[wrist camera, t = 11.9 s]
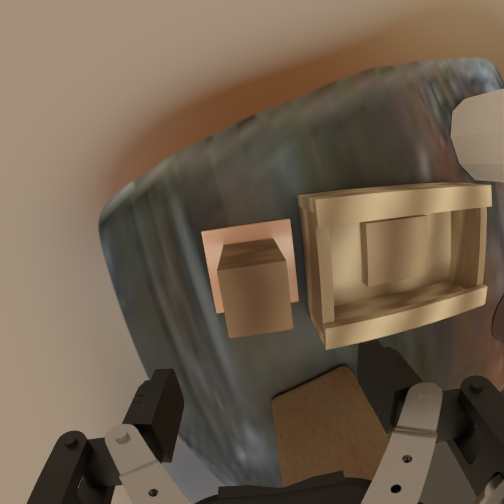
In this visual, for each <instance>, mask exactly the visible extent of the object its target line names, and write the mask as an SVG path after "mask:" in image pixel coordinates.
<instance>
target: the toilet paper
mask: <svg viewBox="0 0 504 504" xmlns="http://www.w3.org/2000/svg"><path fill="white" fill-rule="evenodd" d="M450 137H451V140H452V143H453V146H454V149H455V152H456V155H457V158H458V161H459V164H460V165H461V166H462V167H463V168H464V169H465V170H466V171H467V172H468V173H469V174H470V176H471V177H472V178H473V179H474V180H480V181H493V182H504V89H500V90H496V91H492V92H488V93H484V94H481V95H477V96H473V97H469V98H466V99H464V100H463V101H462V102H461V103H460V104H459V105H458V106H457V107H456V108H455V109H454V110H453V111H452V123H451V136H450Z"/></svg>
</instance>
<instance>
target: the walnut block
mask: <svg viewBox="0 0 504 504" xmlns="http://www.w3.org/2000/svg"><path fill="white" fill-rule="evenodd" d="M217 275H218V281H219V286H220V292H221V297H222V303H223V308H224V313H225V319H226V324H227V329H228V334H229V338H236V337H243V336H251V335H258V334H265V333H272V332H279V331H285V330H291V329H293V321H292V310H291V300H290V290H289V280H288V271H287V261H286V259H285V257H284V256H283V254H282V252H281V251H280V249H279V247H278V245H277V244H276V242H275V240H274V239H273V238H269V239H261V240H254V241H247V242H240V243H233V244H226V245H223V248H222V252H221V256H220V260H219V264H218V268H217Z"/></svg>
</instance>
